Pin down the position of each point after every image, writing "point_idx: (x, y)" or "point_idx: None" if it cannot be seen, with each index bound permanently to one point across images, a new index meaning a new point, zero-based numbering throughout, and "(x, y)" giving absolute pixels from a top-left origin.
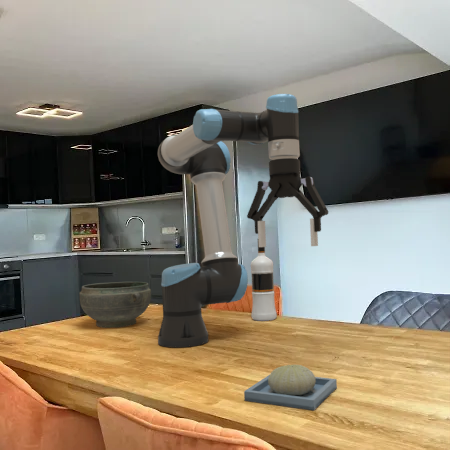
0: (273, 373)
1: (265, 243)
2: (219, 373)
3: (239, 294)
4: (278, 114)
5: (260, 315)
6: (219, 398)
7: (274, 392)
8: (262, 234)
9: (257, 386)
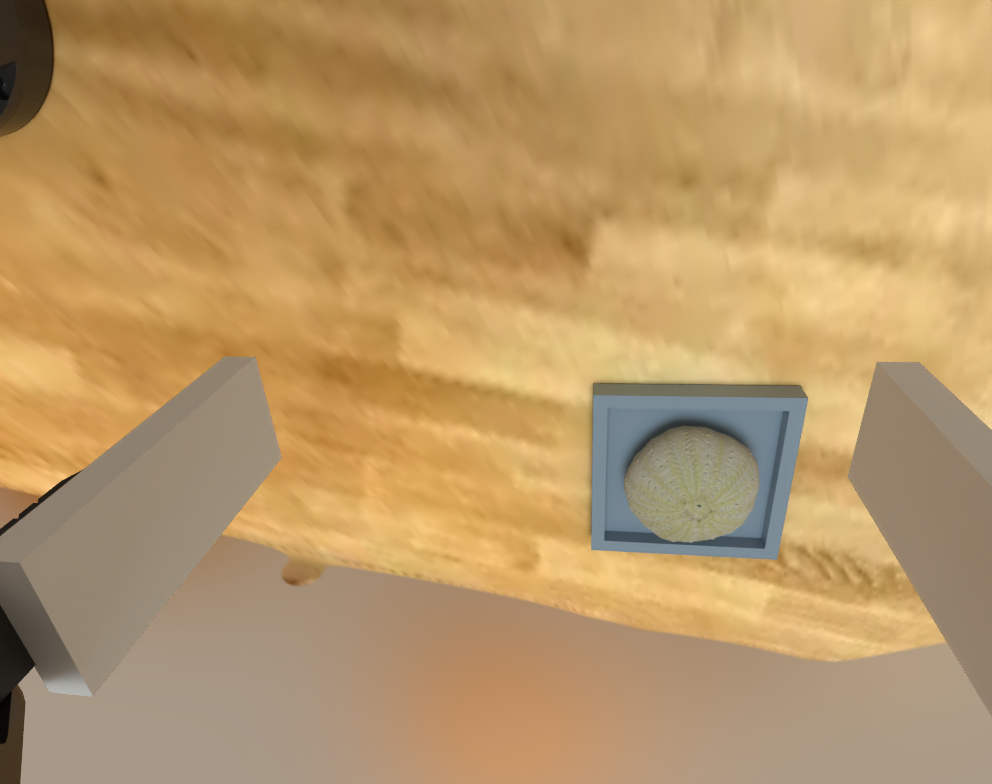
0: (651, 527)
1: (239, 383)
2: (405, 372)
3: None
4: None
5: None
6: (528, 537)
7: None
8: (198, 507)
9: (604, 510)
